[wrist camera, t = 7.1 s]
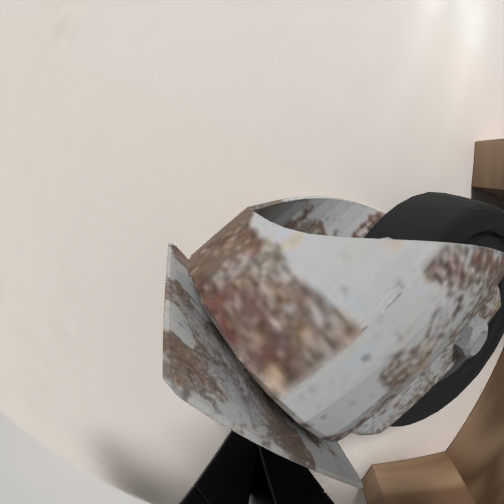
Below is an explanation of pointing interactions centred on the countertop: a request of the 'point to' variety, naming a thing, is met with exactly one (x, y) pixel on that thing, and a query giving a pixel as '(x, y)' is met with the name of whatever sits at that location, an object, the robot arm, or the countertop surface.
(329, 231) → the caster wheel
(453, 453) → the cradle
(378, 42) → the countertop surface
